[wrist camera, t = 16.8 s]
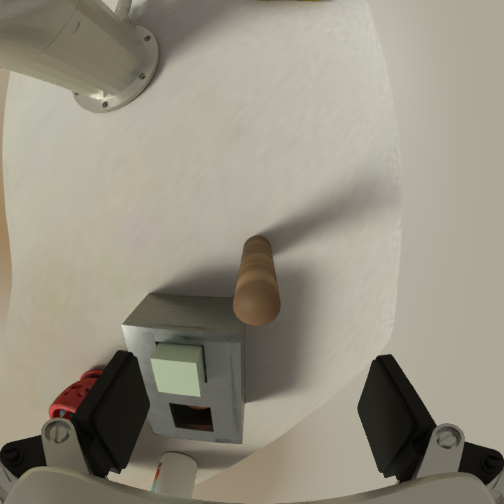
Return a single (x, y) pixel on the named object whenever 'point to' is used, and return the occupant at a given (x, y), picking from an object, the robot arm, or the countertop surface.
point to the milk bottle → (175, 475)
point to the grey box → (216, 358)
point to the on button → (179, 368)
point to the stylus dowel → (256, 284)
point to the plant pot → (73, 395)
